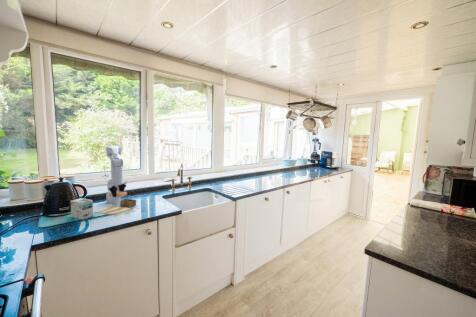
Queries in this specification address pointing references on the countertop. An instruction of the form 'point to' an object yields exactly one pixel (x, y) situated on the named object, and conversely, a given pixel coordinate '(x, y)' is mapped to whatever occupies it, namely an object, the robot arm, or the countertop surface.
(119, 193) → the salmon pink block
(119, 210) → the board
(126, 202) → the box
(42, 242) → the countertop surface
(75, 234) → the countertop surface
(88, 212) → the light bulb box
